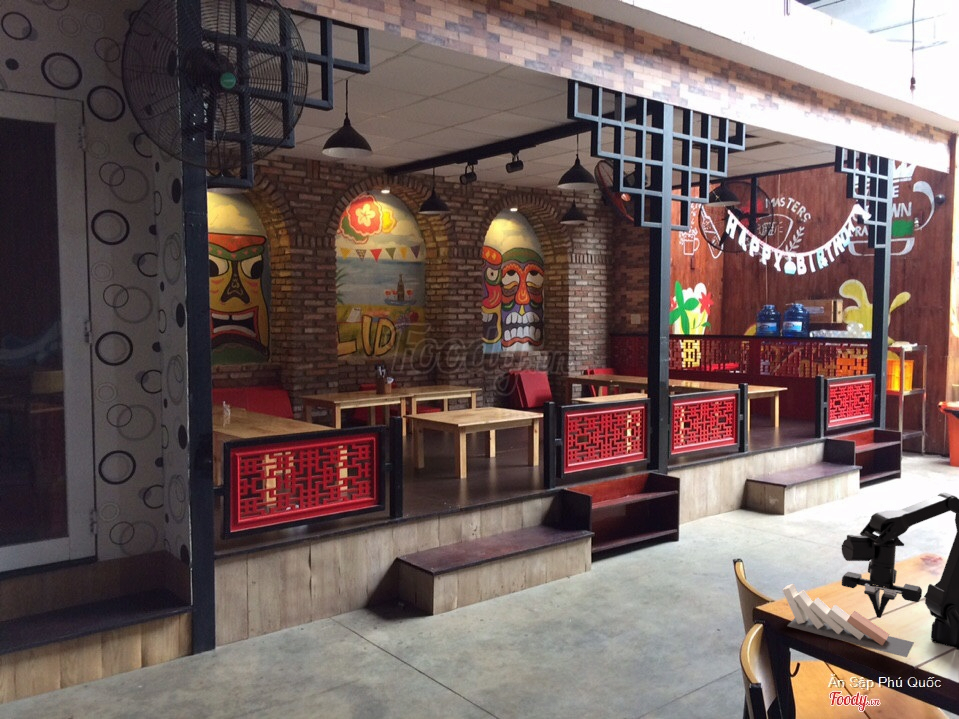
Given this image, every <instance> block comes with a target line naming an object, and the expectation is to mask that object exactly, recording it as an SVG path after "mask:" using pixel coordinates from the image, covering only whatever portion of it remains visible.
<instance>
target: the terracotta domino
mask: <svg viewBox="0 0 959 719" xmlns="http://www.w3.org/2000/svg"><path fill="white" fill-rule="evenodd" d="M847 622H848V623H850V624H851V625H853V626H854V627H856V628H857V629H859V630H860V631H861V632H863V633H864V634H866V635H867V636H869V637H870V638H872V639H873V640H875V641H876V642H877V643H879V644H880V645H883V644H884V642H885V641H886V639H887V638H888V636H890V633H889V632H887V631H885V630H884V629H883V628H882V627H880V626H878V625H877V624H875V623H874V622H872V621H871V620H869V619H868V618H866V617H865V616H863V615H862V614H861V613H860V612H858V611H856V610H854V611H852V613H851V614H850V617H849V619H848V620H847Z"/></svg>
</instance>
